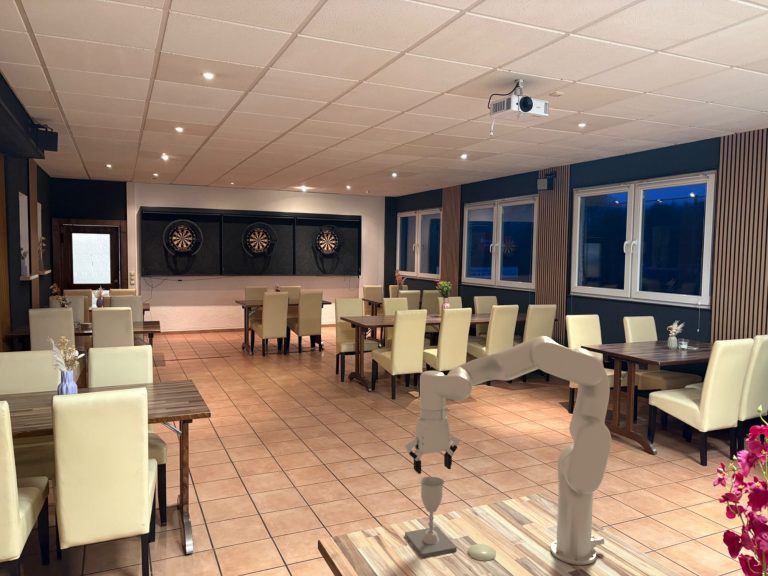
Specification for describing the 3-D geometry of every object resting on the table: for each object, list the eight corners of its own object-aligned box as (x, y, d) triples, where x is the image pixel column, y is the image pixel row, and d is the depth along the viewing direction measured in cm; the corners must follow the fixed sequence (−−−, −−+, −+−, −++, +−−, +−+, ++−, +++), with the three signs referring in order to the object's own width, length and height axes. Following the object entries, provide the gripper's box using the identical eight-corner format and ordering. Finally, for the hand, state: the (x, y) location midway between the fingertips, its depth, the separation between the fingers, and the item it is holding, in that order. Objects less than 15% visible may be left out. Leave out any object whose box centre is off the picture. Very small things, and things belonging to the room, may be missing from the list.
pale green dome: (477, 543, 171) (477, 541, 171) (501, 553, 166) (501, 551, 166) (462, 554, 165) (463, 551, 165) (486, 565, 160) (487, 562, 160)
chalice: (443, 534, 173) (444, 477, 172) (443, 546, 167) (444, 487, 165) (419, 533, 174) (420, 476, 173) (418, 544, 167) (419, 485, 166)
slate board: (437, 529, 178) (437, 526, 178) (456, 550, 166) (456, 547, 166) (404, 535, 175) (404, 532, 175) (422, 557, 162) (422, 554, 162)
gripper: (453, 407, 174) (453, 461, 175) (400, 413, 168) (401, 469, 169) (465, 413, 167) (464, 470, 168) (410, 420, 161) (410, 479, 162)
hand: (432, 469), depth 169 cm, fingers open, 9 cm apart
